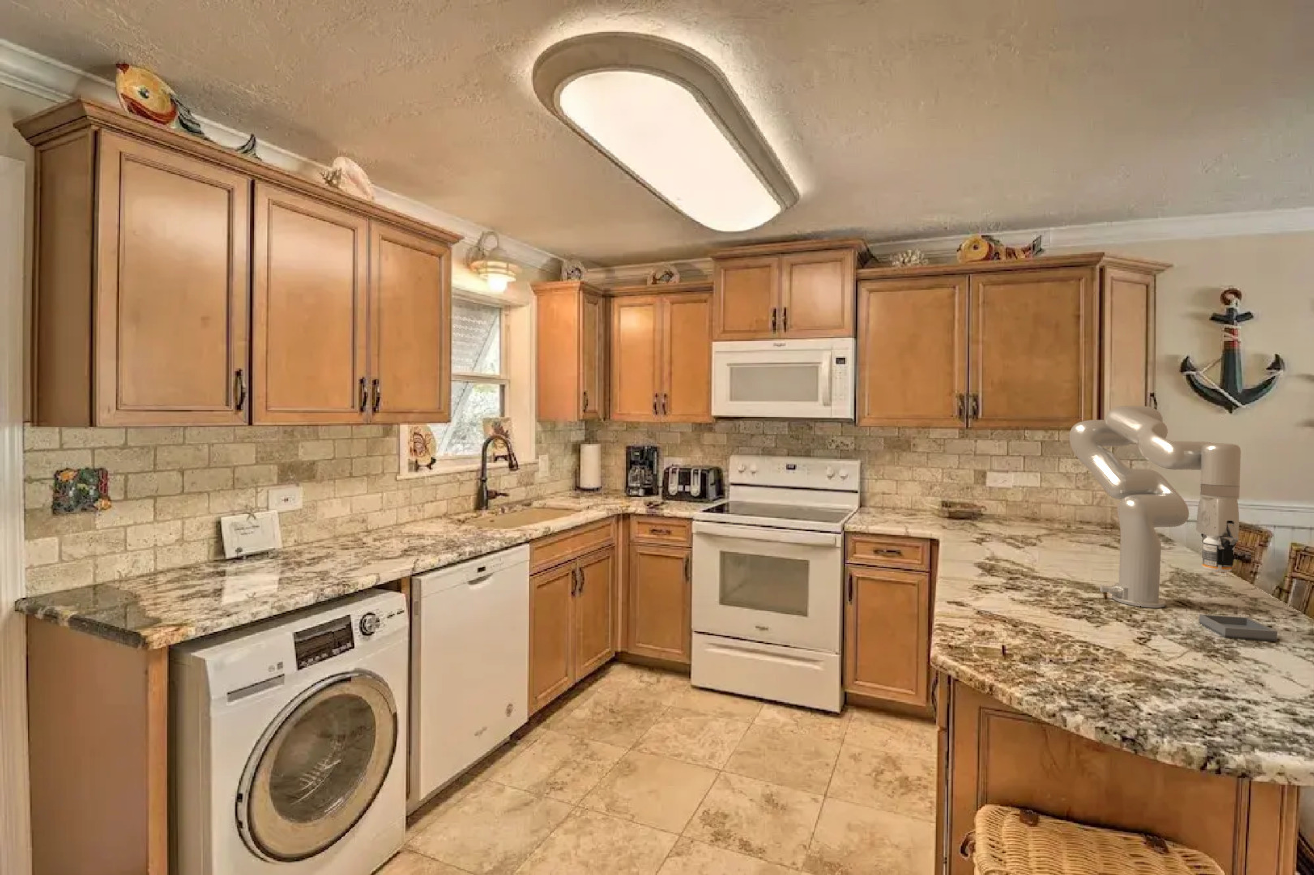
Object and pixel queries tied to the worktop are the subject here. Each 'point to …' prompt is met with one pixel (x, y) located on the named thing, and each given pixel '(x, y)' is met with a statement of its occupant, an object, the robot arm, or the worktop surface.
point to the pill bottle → (1213, 555)
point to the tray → (1238, 627)
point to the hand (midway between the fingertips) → (1217, 561)
